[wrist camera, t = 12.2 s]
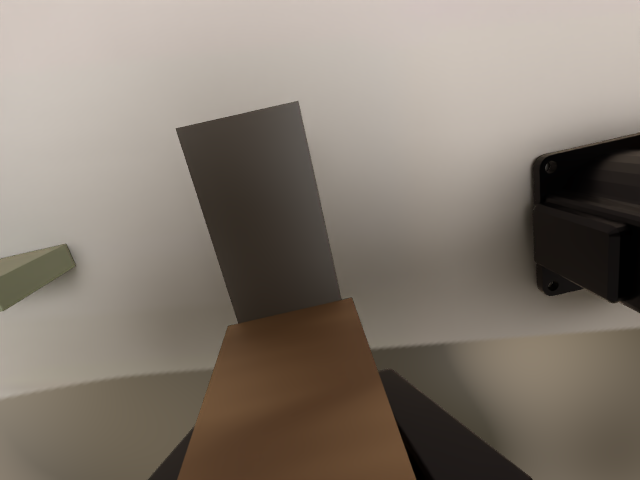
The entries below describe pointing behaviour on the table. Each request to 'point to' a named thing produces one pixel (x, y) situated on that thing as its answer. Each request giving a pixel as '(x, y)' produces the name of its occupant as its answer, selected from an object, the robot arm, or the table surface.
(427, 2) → the table surface
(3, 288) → the bin
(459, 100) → the table surface
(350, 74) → the table surface
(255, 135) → the hoe
